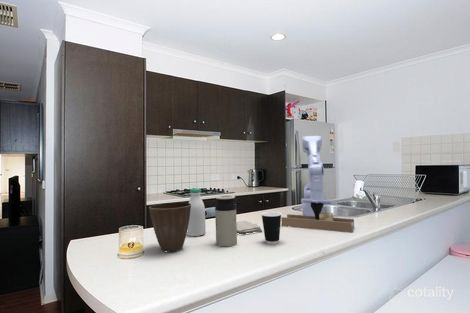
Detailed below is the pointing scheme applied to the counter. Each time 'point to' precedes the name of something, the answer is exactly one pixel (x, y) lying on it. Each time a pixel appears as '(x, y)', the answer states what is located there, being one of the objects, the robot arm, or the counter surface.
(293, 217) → the trap track
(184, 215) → the plant pot
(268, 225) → the dixie cup
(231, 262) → the counter surface
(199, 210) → the milk bottle
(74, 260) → the counter surface
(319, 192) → the robot arm
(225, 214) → the travel mug
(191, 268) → the counter surface
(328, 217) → the maple block
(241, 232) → the washcloth
